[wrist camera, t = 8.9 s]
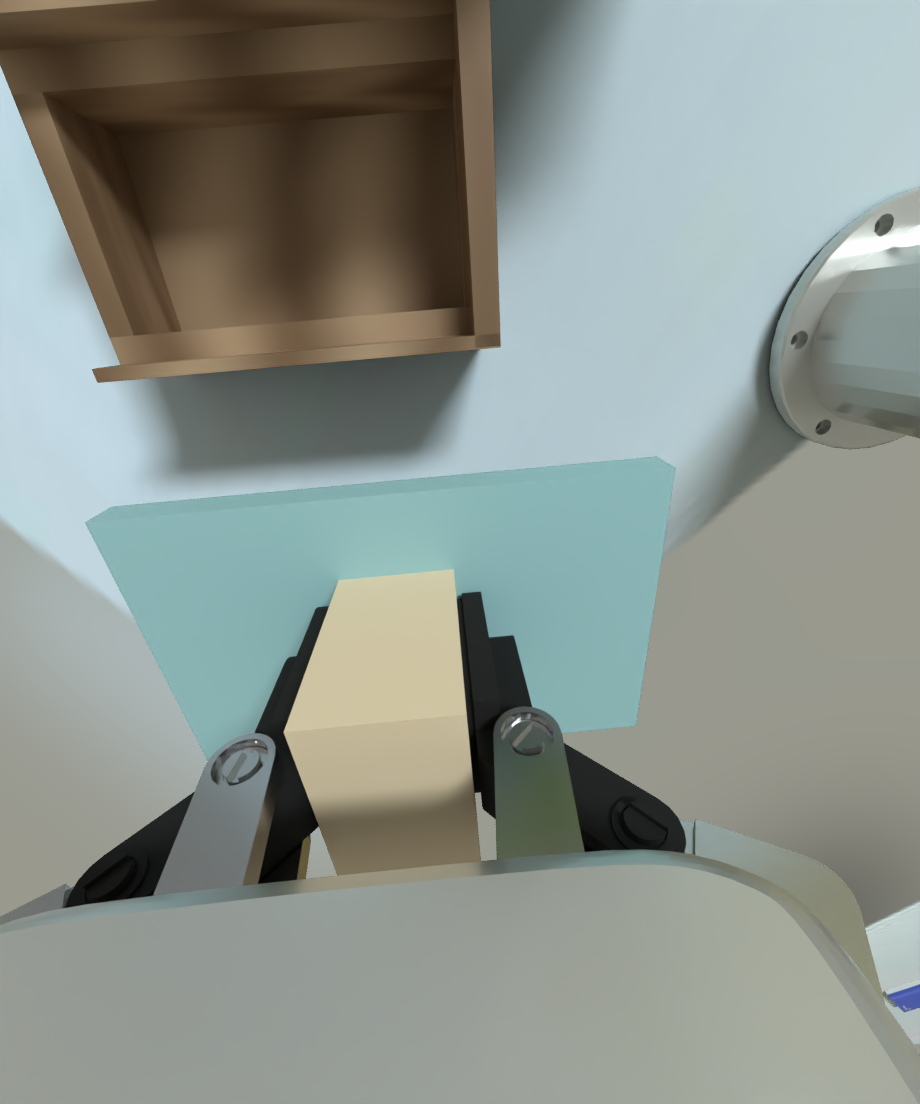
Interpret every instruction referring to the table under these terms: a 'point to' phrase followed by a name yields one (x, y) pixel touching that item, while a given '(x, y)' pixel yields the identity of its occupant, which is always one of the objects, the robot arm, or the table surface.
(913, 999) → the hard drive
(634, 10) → the table surface
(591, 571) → the cover plate
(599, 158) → the table surface
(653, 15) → the table surface
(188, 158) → the walnut box
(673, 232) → the table surface
